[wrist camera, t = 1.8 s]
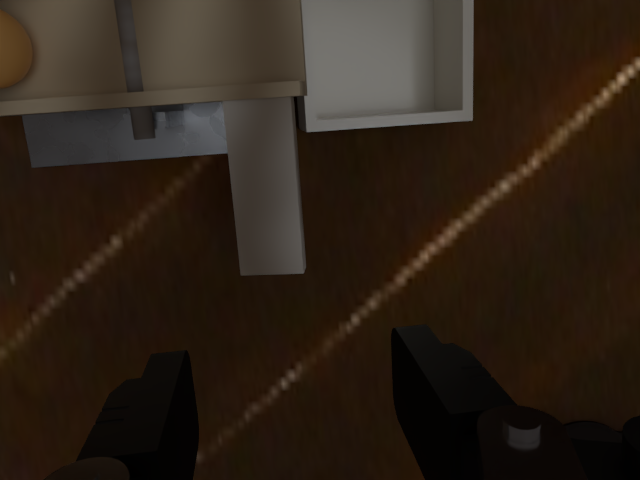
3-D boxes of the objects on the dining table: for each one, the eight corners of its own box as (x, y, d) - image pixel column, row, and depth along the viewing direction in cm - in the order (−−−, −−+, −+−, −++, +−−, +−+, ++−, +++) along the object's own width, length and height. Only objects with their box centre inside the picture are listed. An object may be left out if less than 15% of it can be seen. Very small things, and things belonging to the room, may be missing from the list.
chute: (301, -67, 25) (286, -101, 21) (321, 250, 29) (313, 276, 25) (-19, -35, 27) (-92, -60, 22) (41, 260, 30) (-13, 286, 26)
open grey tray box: (439, -38, 34) (474, -65, 29) (440, 118, 36) (472, 120, 31) (287, -32, 33) (293, -58, 28) (298, 128, 35) (306, 132, 30)
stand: (274, -53, 33) (279, -101, 25) (289, 147, 36) (299, 158, 28) (-4, -43, 31) (-87, -90, 23) (37, 166, 34) (-25, 183, 26)
